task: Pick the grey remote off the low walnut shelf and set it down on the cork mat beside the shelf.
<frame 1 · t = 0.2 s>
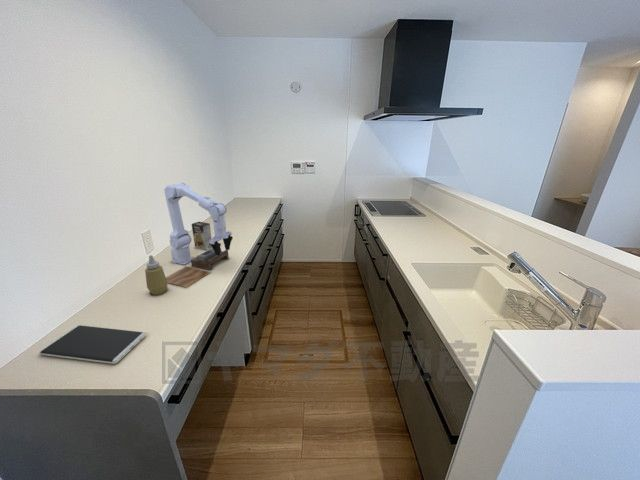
hand: (222, 252, 138), 10 cm above the table, tool pointing down, fingers open, 7 cm apart
remote: (210, 256, 147), point 4 cm above the table, touching shelf
shelf: (210, 262, 149), on the table
mat: (186, 276, 133), on the table
squeeze bottle: (159, 291, 120), on the table
coffee box: (204, 247, 169), on the table
black flat slab: (96, 345, 89), on the table
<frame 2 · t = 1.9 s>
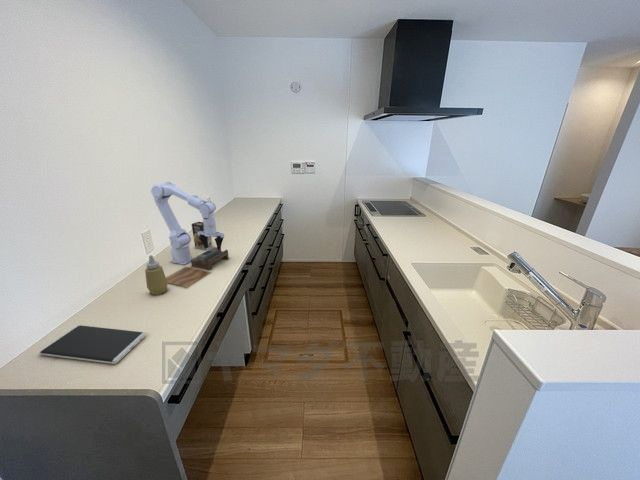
hand: (212, 248, 143), 10 cm above the table, tool pointing down, fingers open, 7 cm apart
nothing on the table moved.
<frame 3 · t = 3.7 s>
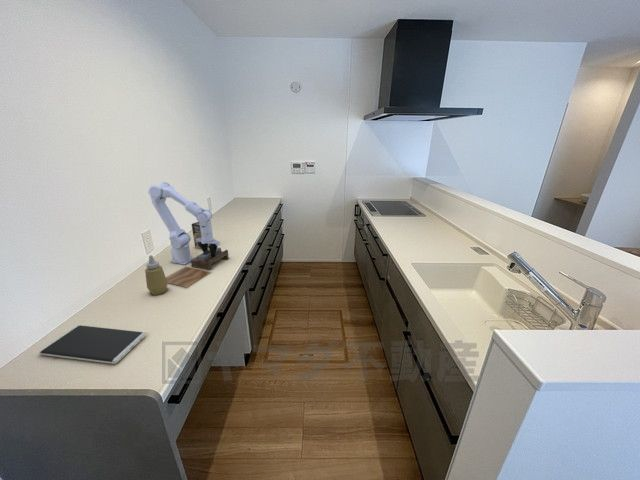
hand: (209, 255, 147), 4 cm above the table, tool pointing down, fingers closed on remote, 4 cm apart
remote: (210, 256, 147), point 4 cm above the table, touching gripper, shelf
everything else where it was.
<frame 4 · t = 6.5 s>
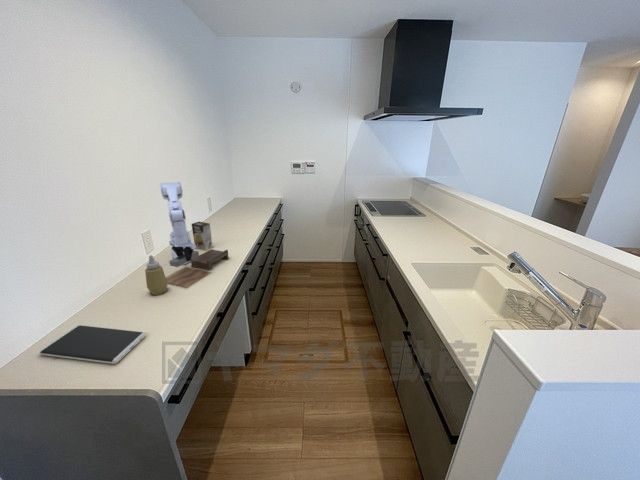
hand: (185, 259, 130), 9 cm above the table, tool pointing down, fingers closed on remote, 4 cm apart
remote: (185, 260, 131), point 9 cm above the table, touching gripper
everything else where it was.
when the fingers open (1 cm above the table, at t = 9.1 s): remote stays where it is, resting on mat.
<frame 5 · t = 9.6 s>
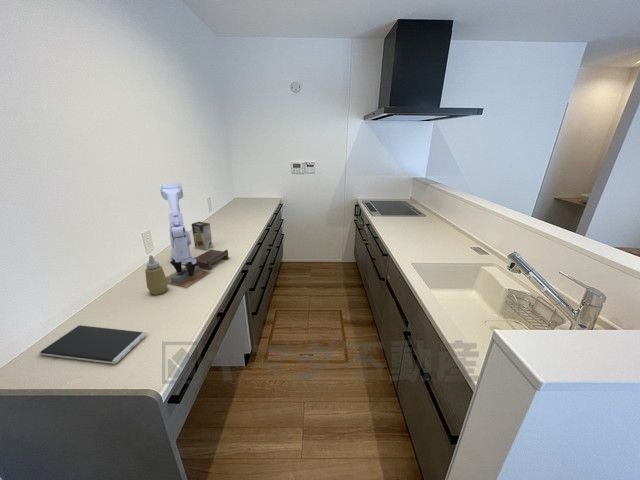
hand: (185, 274, 132), 2 cm above the table, tool pointing down, fingers open, 7 cm apart
remote: (186, 276, 133), resting on mat
everything else where it was.
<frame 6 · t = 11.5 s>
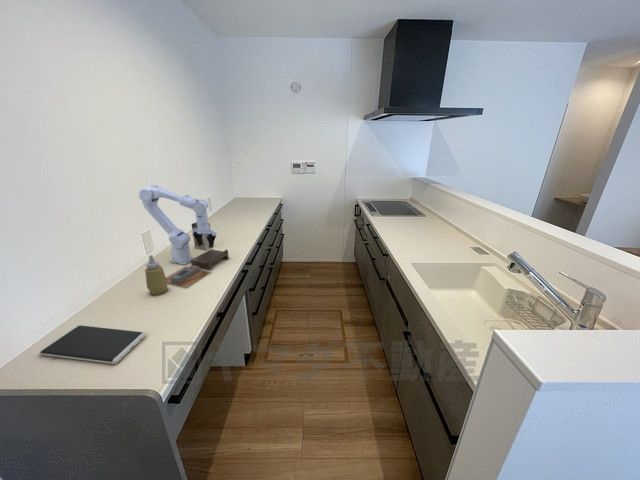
hand: (206, 245, 147), 9 cm above the table, tool pointing down, fingers open, 7 cm apart
nothing on the table moved.
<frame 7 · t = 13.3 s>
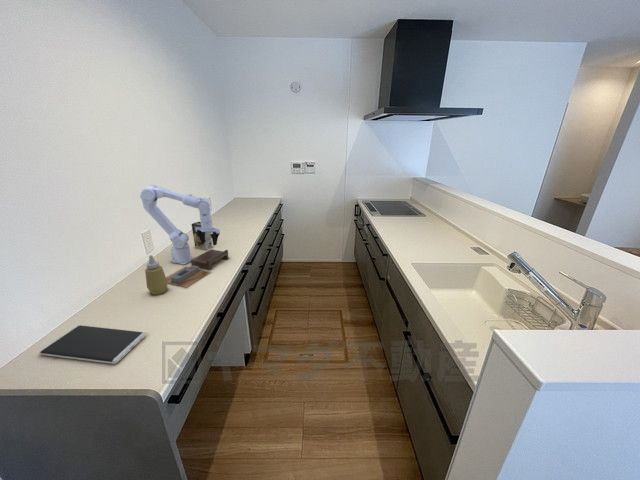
hand: (209, 243, 150), 9 cm above the table, tool pointing down, fingers open, 7 cm apart
nothing on the table moved.
at the end: remote inside the target area (0.1 cm from its centre), resting on mat; remote touching mat; the gripper is holding nothing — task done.
